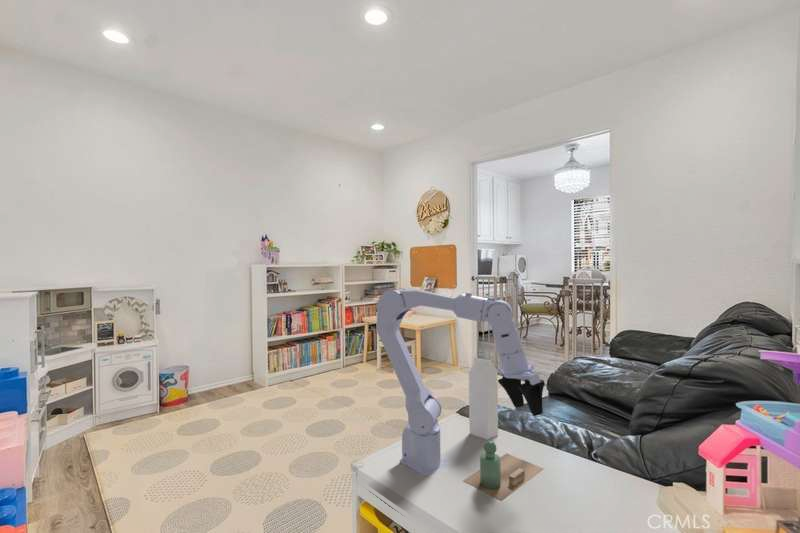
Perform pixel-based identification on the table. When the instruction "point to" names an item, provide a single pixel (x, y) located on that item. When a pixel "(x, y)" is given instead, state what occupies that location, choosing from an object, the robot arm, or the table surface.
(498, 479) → the bottle
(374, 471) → the table surface
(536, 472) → the rest board
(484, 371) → the milk
